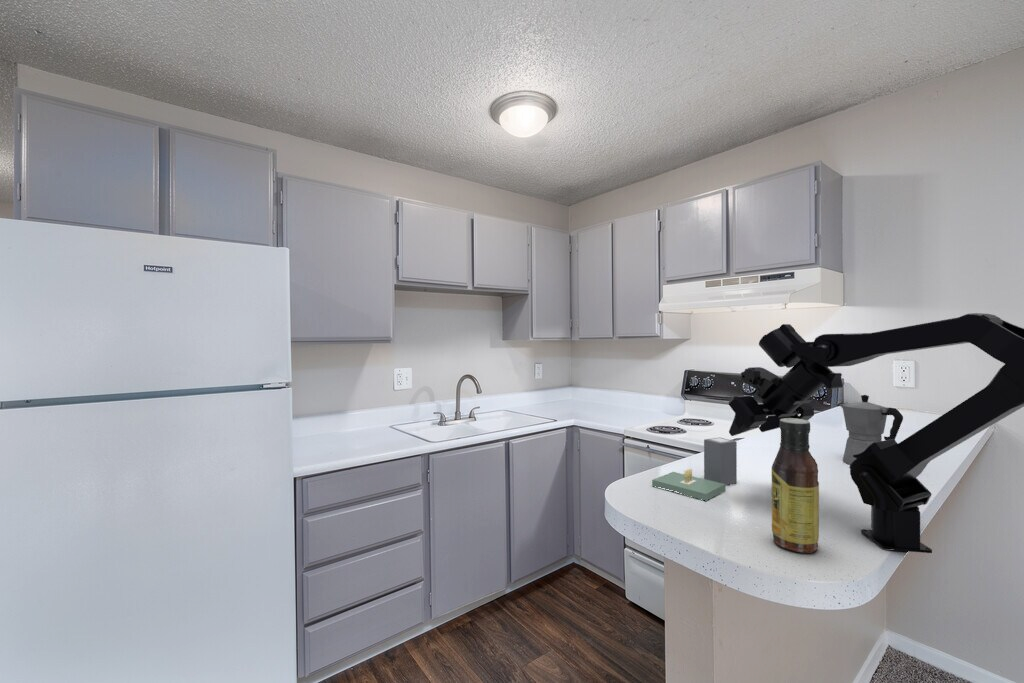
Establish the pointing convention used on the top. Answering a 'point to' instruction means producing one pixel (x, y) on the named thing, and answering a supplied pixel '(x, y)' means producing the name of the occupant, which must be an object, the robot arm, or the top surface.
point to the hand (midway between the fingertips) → (745, 432)
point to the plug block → (720, 460)
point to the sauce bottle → (795, 489)
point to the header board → (689, 485)
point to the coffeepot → (866, 426)
